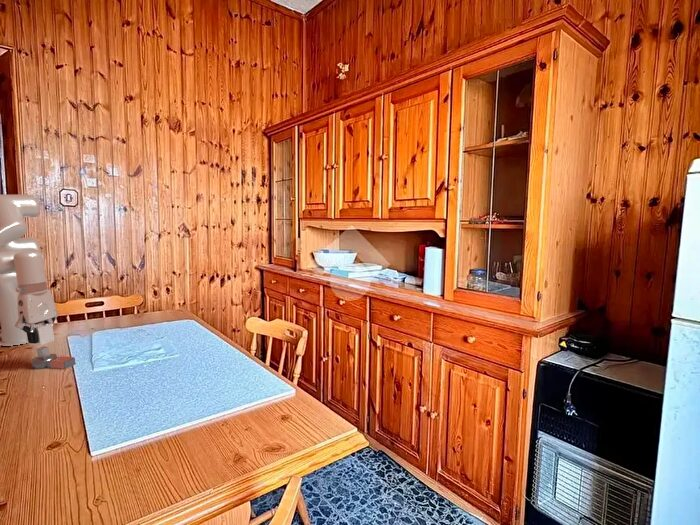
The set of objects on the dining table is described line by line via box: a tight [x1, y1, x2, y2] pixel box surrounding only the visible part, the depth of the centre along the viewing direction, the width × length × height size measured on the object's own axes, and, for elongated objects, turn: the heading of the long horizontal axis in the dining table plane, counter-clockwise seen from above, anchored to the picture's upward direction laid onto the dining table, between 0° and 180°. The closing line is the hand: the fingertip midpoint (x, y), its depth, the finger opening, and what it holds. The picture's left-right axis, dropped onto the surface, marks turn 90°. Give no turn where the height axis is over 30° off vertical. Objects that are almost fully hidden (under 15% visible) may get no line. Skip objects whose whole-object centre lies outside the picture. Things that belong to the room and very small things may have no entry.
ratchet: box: [30, 346, 77, 370], centre depth 137 cm, size 14×7×6 cm, turn 78°
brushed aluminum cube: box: [28, 322, 55, 346], centre depth 137 cm, size 5×5×6 cm
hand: (41, 339), depth 137 cm, fingers closed on brushed aluminum cube, 5 cm apart
